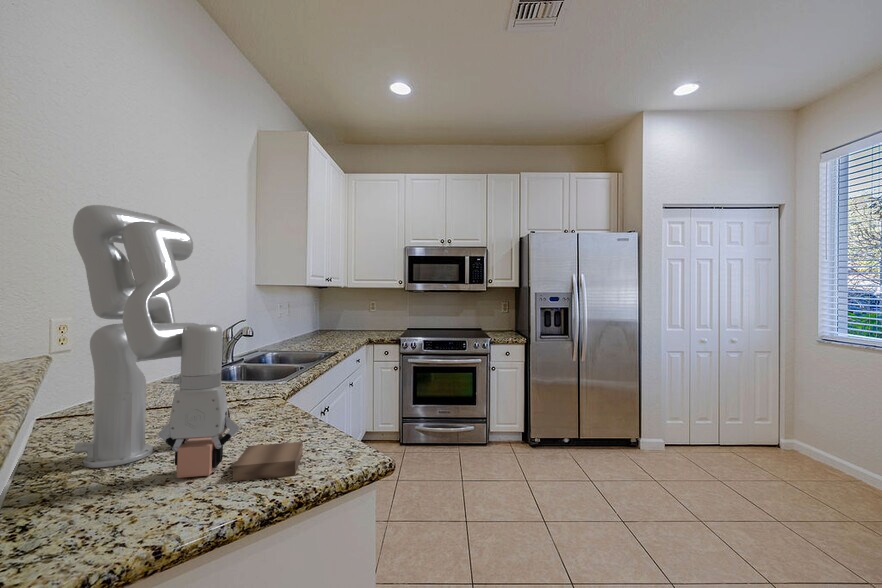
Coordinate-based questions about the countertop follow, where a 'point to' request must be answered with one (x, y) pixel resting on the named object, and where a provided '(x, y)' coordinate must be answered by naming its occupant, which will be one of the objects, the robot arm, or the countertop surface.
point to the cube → (195, 458)
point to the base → (268, 461)
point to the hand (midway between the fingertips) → (199, 466)
